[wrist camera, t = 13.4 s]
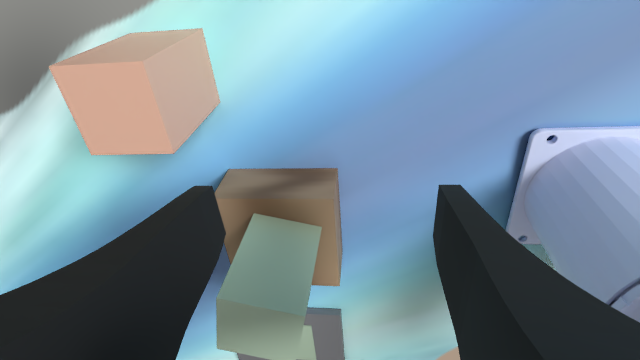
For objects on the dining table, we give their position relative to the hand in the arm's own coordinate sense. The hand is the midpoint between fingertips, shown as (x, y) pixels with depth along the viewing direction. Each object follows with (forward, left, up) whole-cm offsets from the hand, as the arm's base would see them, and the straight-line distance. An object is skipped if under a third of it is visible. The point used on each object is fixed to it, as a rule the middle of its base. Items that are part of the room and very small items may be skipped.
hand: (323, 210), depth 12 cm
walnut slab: (+4, +8, -10) cm, 14 cm away
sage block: (+4, +8, -7) cm, 11 cm away
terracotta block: (+9, -2, -10) cm, 14 cm away
